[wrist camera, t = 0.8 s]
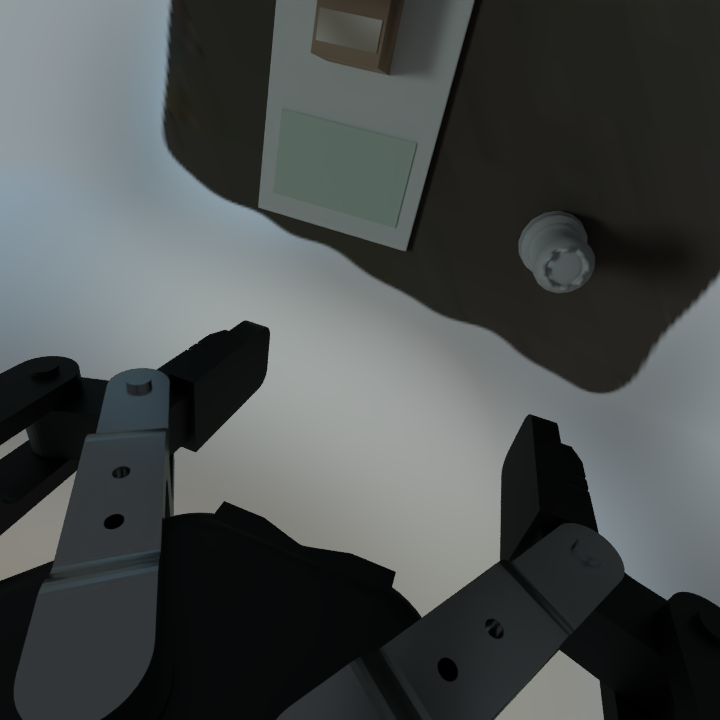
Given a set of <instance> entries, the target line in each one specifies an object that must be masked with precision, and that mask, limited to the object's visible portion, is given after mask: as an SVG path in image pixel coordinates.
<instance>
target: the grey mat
mask: <svg viewBox="0 0 720 720" xmlns="http://www.w3.org/2000/svg"><path fill="white" fill-rule="evenodd" d="M474 2H475V0H405V1H404V5H403V10H402V15H401V20H400V25H399V29H398V34H397V39H396V44H395V49H394V53H393V58H392V63H391V68H390V73H389V75H384V74H380V73H376V72H371V71H367V70H363V69H359V68H354V67H350V66H346V65H342V64H337V63H333V62H329V61H326V60H324V59H322V58H320V57H318V56H316V55H314V54H312V53H311V46H312V38H313V30H314V22H315V14H316V6H317V0H276V10H275V22H274V33H273V45H272V56H271V68H270V79H269V91H268V102H267V113H266V125H265V136H264V148H263V159H262V171H261V182H260V193H259V205H258V207H259V208H262V209H266V210H269V211H272V212H276V213H279V214H282V215H286V216H289V217H292V218H296V219H299V220H302V221H306V222H309V223H312V224H316V225H319V226H322V227H326V228H329V229H332V230H336V231H339V232H342V233H346V234H349V235H352V236H356V237H359V238H362V239H366V240H369V241H372V242H376V243H379V244H382V245H386V246H389V247H392V248H396V249H399V250H403V251H406V250H407V246H408V243H409V239H410V236H411V232H412V228H413V225H414V221H415V217H416V214H417V210H418V206H419V203H420V199H421V195H422V192H423V188H424V184H425V181H426V177H427V174H428V170H429V166H430V163H431V159H432V155H433V152H434V148H435V144H436V141H437V137H438V133H439V130H440V126H441V122H442V119H443V115H444V112H445V108H446V104H447V101H448V97H449V93H450V90H451V86H452V82H453V79H454V75H455V71H456V68H457V64H458V60H459V57H460V53H461V50H462V46H463V42H464V39H465V35H466V31H467V28H468V24H469V20H470V17H471V13H472V9H473V6H474Z"/></svg>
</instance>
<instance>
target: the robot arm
mask: <svg viewBox="0 0 720 720" xmlns="http://www.w3.org/2000/svg"><path fill="white" fill-rule="evenodd" d="M269 340H270V331H269V329H268V328H267V327H265V326H261V325H258V324H255V323H252V322H249V321H243V322H241V323H240V324H238V325H237V326H236V327H234V328H233V329H231V330H230V331H227V330H223V331H220V332H217V333H213V334H210V335H208V336H206V337H205V338H203V339H202V340H200V341H199V342H198V344H195V345H193V346H191V347H190V348H189V350H185V351H184V352H183V353H181V354H180V355H178V356H176V357H175V358H173V359H172V360H170V361H169V362H168V363H166V364H165V365H163V366H161V367H160V368H159V369H157V370H154V369H148V368H138V369H131V370H127V371H124V372H121V373H119V374H117V375H115V376H114V377H113V378H111V379H110V381H106V380H99V379H91V378H83V377H81V375H80V370H79V366H78V364H77V363H76V362H75V361H73V360H72V359H69V358H66V357H59V356H47V357H40V358H35V359H31V360H28V361H25V362H23V363H21V364H19V365H17V366H15V367H13V368H11V369H9V370H7V371H5V372H3V373H1V374H0V445H1V444H3V443H4V442H6V441H7V440H9V439H10V438H11V437H13V436H15V435H16V434H18V433H19V432H21V431H22V430H24V429H26V431H27V434H28V437H29V440H28V441H26V442H25V443H24V444H22V445H21V446H19V447H18V448H17V449H15V450H13V451H12V452H11V453H9V454H8V455H6V456H5V457H3V458H2V459H0V535H1V534H3V533H4V532H5V531H6V530H7V529H9V528H10V527H11V526H12V525H13V524H14V523H16V522H17V521H18V520H19V519H20V518H21V517H23V516H24V515H25V514H26V513H27V512H28V511H30V510H31V509H32V508H33V507H34V506H36V505H37V504H38V503H39V502H40V501H41V500H42V499H44V498H45V497H46V496H47V495H48V494H50V493H51V492H52V491H53V490H54V489H55V488H57V487H58V486H59V485H60V484H61V483H63V482H64V481H65V480H66V479H67V478H68V477H70V476H71V475H72V474H73V473H74V472H75V471H77V473H76V477H75V481H74V485H73V489H72V493H71V497H70V501H69V505H68V508H67V513H66V516H65V520H64V524H63V528H62V532H61V536H60V540H59V544H58V548H57V551H56V555H55V559H54V561H51V562H49V563H46V564H43V565H41V566H38V567H36V568H33V569H30V570H28V571H25V572H23V573H20V574H17V575H15V576H12V577H9V578H7V579H4V580H1V581H0V720H494V719H495V718H496V717H497V716H498V715H499V714H500V713H501V712H502V711H503V710H504V708H505V707H506V706H507V705H508V704H509V703H510V702H511V701H512V700H513V699H514V698H515V697H516V695H517V694H518V693H519V692H520V691H521V690H522V689H523V688H524V687H525V686H526V685H527V684H528V683H529V681H531V679H532V678H533V677H534V676H535V675H536V674H537V673H538V672H539V671H540V670H541V669H542V668H543V667H544V665H545V664H546V663H547V662H548V661H549V660H550V659H551V658H552V657H553V656H554V655H555V654H556V653H557V652H558V650H561V651H562V652H563V653H565V654H566V655H567V656H569V657H570V658H571V659H572V660H574V661H575V662H576V663H578V664H579V665H580V666H582V667H583V668H584V669H586V670H587V671H588V672H590V673H591V674H592V675H593V676H595V677H596V678H597V679H599V680H600V688H601V697H602V705H603V714H604V720H720V608H719V607H718V606H717V605H715V604H714V603H712V602H710V601H709V600H707V599H705V598H703V597H701V596H699V595H696V594H693V593H689V592H679V593H676V594H674V595H673V596H672V597H671V598H670V599H669V600H668V601H667V600H665V599H664V598H662V597H661V596H659V595H658V594H656V593H654V592H653V591H651V590H650V589H648V588H647V587H645V586H643V585H642V584H640V583H638V582H637V581H636V580H634V579H632V578H631V577H630V576H628V575H627V574H626V573H625V572H624V565H623V562H622V559H621V557H620V556H619V554H618V552H617V551H616V550H615V548H614V547H613V546H612V545H611V544H610V543H609V542H608V541H607V540H606V539H605V538H604V537H603V536H601V535H600V534H599V533H598V528H597V524H596V520H595V516H594V511H593V507H592V502H591V498H590V494H589V492H588V485H587V481H586V479H585V477H586V476H585V472H584V468H583V463H582V461H581V460H580V458H579V457H578V455H577V454H576V453H575V451H574V450H573V449H572V447H571V446H567V445H565V444H562V443H561V440H560V435H559V429H558V425H557V423H555V422H552V421H549V420H546V419H542V418H540V417H537V416H534V415H531V414H529V415H528V416H527V417H526V418H525V420H524V422H523V424H522V426H521V428H520V430H519V432H518V433H517V435H516V437H515V439H514V441H513V444H512V445H511V447H510V449H509V451H508V453H507V456H506V458H505V461H504V464H503V468H502V476H501V481H502V482H501V538H500V561H499V562H498V563H497V564H495V565H493V566H492V567H491V568H490V569H488V570H487V571H485V572H484V573H483V574H481V575H480V576H478V577H477V578H476V579H474V580H473V581H472V582H470V583H469V584H468V585H466V586H465V587H463V588H462V589H461V590H459V591H458V592H457V593H455V594H454V595H452V596H451V597H450V598H449V599H447V600H446V601H444V602H443V603H442V604H440V605H439V606H437V607H436V608H435V609H433V610H432V611H431V612H429V613H428V614H427V615H425V616H424V617H423V618H422V617H421V616H420V614H419V613H418V612H417V610H416V609H415V608H414V607H413V606H412V605H411V603H410V602H409V601H408V600H407V599H405V598H404V597H403V596H402V595H401V594H400V593H399V592H398V591H396V590H395V589H394V588H392V584H393V580H394V577H395V573H396V572H395V571H392V570H390V569H387V568H385V567H382V566H380V565H377V564H375V563H373V562H370V561H368V560H366V559H363V558H361V557H358V556H356V555H353V554H351V553H344V552H337V551H331V550H325V549H318V548H312V547H306V546H303V545H300V544H298V543H297V542H296V541H294V540H293V539H292V538H290V537H289V536H287V535H286V534H285V533H284V532H282V531H281V530H280V529H278V528H277V527H276V526H274V525H273V524H272V523H270V522H269V521H268V520H266V519H265V518H264V517H261V516H259V515H256V514H254V513H251V512H249V511H247V510H244V509H242V508H239V507H237V506H235V505H232V504H230V503H227V502H225V501H224V502H223V503H222V505H221V506H220V507H219V509H218V510H217V511H216V512H215V514H212V513H187V514H181V515H175V516H174V452H175V451H177V450H178V449H179V448H180V447H184V448H186V449H189V450H191V451H194V452H197V451H198V450H199V448H200V447H202V446H203V444H204V443H205V442H206V441H207V440H208V439H209V438H210V437H211V436H212V435H213V434H214V433H215V432H216V431H217V430H218V429H219V428H220V427H221V426H222V425H223V424H224V423H225V422H226V421H227V420H228V419H229V418H230V417H231V416H232V415H233V414H234V413H235V412H236V411H237V410H238V409H239V408H240V407H241V406H242V405H243V404H244V403H245V402H246V401H247V400H248V399H249V398H250V397H251V396H252V395H253V394H254V393H255V392H256V391H257V390H258V389H259V387H260V386H261V385H262V383H263V381H264V379H265V376H266V372H267V364H268V351H269Z"/></svg>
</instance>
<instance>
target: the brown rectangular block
mask: <svg viewBox="0 0 720 720" xmlns="http://www.w3.org/2000/svg"><path fill="white" fill-rule="evenodd" d="M404 1H405V0H317V6H316V14H315V22H314V30H313V38H312V46H311V53H312V54H314V55H316V56H318V57H320V58H322V59H324V60H326V61H329V62H333V63H337V64H342V65H346V66H350V67H354V68H359V69H363V70H367V71H371V72H376V73H380V74H384V75H389V73H390V68H391V63H392V58H393V53H394V49H395V44H396V39H397V34H398V29H399V25H400V20H401V15H402V10H403V5H404Z"/></svg>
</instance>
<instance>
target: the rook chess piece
mask: <svg viewBox="0 0 720 720" xmlns="http://www.w3.org/2000/svg"><path fill="white" fill-rule="evenodd" d="M519 255H520V257H521V259H522V261H523V263H524V264H525V266H526V267H527V268H528V269H529V270H531V271H532V272H533V274H534V276H535V278H536V280H537V282H538V284H539V285H540V286H542V287H543V288H544V289H546V290H548V291H551V292H555V293H565V292H571V291H573V290H575V289H577V288H580V287H581V286H582V285H583V284H584V283H585V282H586V281H588V280H589V279H590V277H591V275H592V273H593V270H594V268H595V255H594V253H593V251H592V249H591V247H590V246H589V245H588V244H587V233H586V231H585V229H584V227H583V224H582V222H581V221H580V220H578V219H577V218H576V217H575V216H573V215H572V214H570V213H566V212H562V211H554V212H547V213H543V214H542V215H540V216H538V217H536V218H534V219H533V220H532V221H531V222H530V223H529V224H528V225H527V226H526V227H525V228H524V230H523V232H522V234H521V237H520V240H519Z"/></svg>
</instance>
